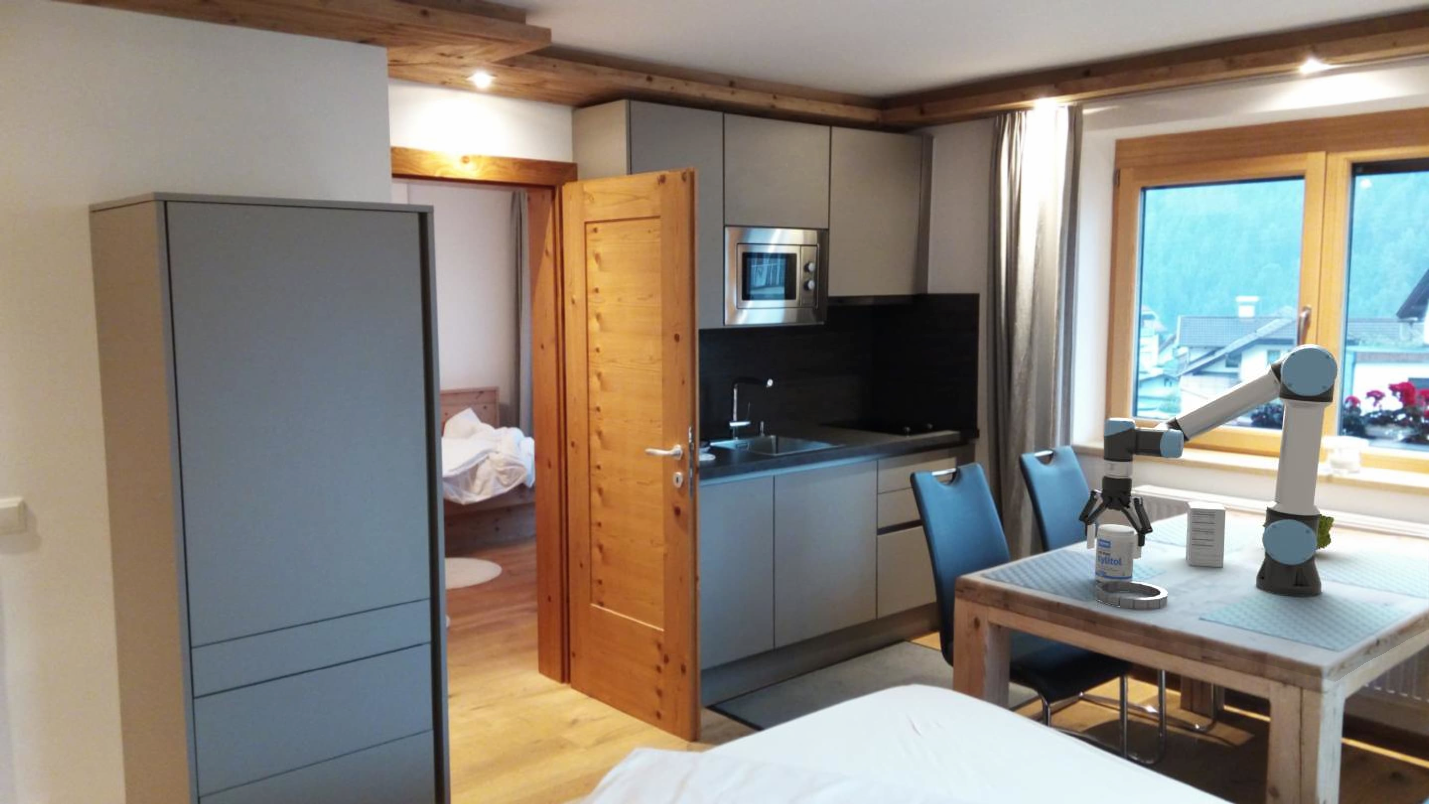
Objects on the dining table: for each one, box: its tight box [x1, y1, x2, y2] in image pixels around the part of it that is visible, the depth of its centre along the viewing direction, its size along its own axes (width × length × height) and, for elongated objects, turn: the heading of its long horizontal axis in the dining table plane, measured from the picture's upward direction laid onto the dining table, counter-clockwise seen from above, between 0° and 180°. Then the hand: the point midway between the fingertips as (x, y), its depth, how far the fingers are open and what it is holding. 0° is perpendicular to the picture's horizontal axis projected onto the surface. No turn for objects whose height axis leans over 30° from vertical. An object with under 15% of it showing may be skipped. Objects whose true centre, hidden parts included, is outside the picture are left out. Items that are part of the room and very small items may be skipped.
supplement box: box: [1185, 501, 1227, 568], centre depth 303 cm, size 10×9×17 cm
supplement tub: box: [1094, 523, 1136, 583], centre depth 285 cm, size 10×10×15 cm
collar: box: [1094, 580, 1169, 610], centre depth 268 cm, size 17×17×2 cm
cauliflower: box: [1261, 513, 1335, 551], centre depth 314 cm, size 18×16×16 cm
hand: (1113, 553), depth 285 cm, fingers open, 13 cm apart
